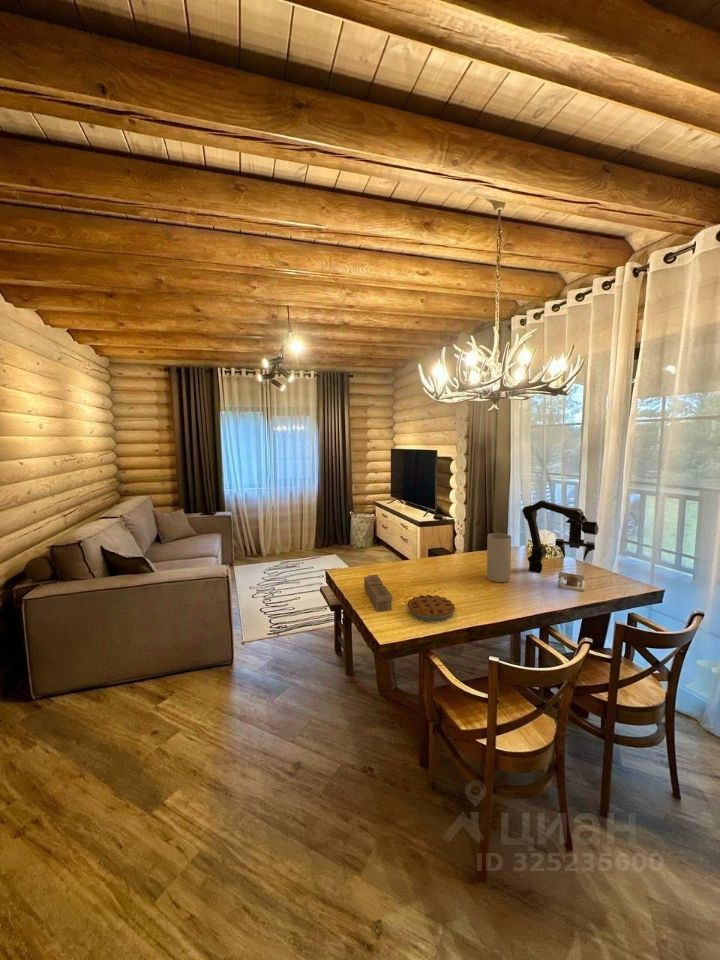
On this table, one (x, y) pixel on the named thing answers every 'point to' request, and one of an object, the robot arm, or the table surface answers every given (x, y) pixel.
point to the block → (572, 580)
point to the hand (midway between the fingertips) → (574, 559)
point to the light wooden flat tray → (571, 586)
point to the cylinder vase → (498, 557)
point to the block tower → (377, 593)
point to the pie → (431, 608)
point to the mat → (580, 577)
